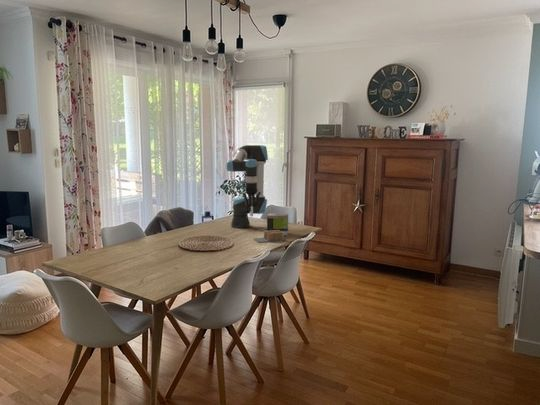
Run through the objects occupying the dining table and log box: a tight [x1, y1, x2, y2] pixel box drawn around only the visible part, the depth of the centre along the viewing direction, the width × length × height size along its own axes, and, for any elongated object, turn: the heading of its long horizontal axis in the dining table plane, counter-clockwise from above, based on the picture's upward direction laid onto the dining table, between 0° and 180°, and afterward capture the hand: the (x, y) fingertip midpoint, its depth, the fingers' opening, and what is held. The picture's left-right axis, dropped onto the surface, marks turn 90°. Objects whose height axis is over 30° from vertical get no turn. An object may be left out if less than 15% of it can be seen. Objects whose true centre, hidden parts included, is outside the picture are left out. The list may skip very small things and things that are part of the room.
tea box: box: [266, 213, 289, 236], centre depth 292 cm, size 15×10×15 cm
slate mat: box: [253, 237, 286, 244], centre depth 276 cm, size 10×20×1 cm, turn 112°
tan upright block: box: [263, 230, 284, 241], centre depth 276 cm, size 9×5×11 cm
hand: (251, 216), depth 274 cm, fingers closed
